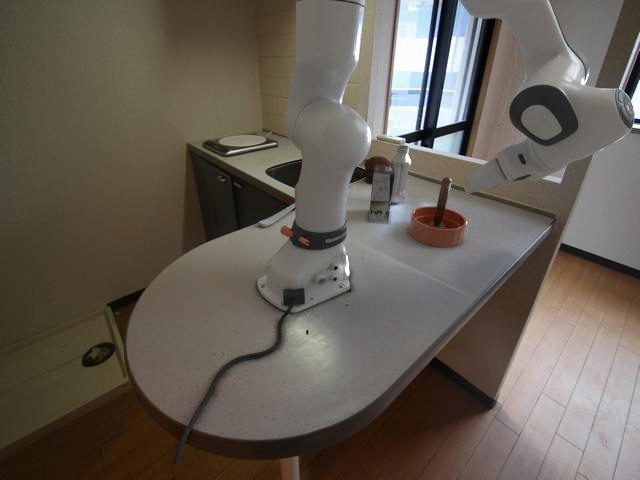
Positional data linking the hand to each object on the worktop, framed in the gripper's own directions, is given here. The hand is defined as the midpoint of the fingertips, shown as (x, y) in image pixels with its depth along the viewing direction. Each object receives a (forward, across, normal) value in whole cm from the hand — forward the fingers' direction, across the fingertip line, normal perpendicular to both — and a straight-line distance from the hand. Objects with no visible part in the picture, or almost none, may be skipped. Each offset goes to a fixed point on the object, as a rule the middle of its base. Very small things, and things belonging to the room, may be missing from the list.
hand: (480, 187), depth 77 cm
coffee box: (+33, +7, -6) cm, 34 cm away
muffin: (+52, -14, -26) cm, 60 cm away
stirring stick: (+20, 0, +6) cm, 20 cm away
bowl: (+20, 0, +6) cm, 21 cm away
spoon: (+46, +28, -19) cm, 57 cm away
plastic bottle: (+37, -6, -11) cm, 39 cm away
